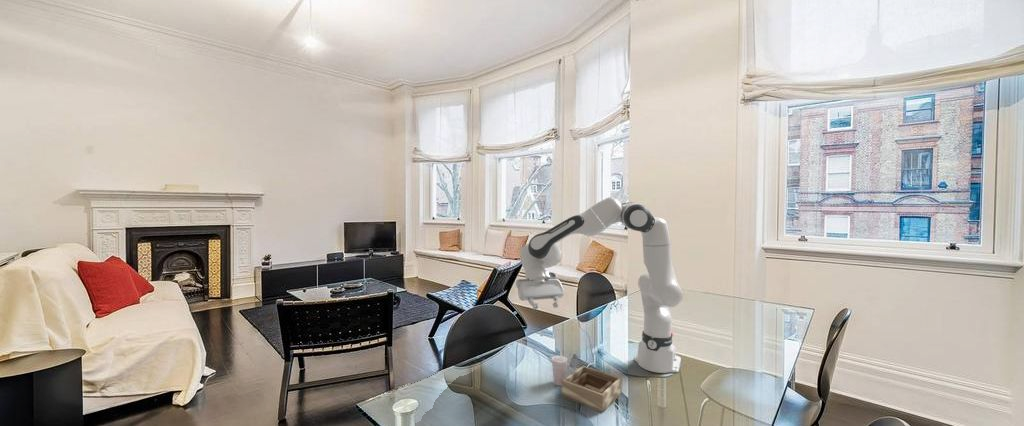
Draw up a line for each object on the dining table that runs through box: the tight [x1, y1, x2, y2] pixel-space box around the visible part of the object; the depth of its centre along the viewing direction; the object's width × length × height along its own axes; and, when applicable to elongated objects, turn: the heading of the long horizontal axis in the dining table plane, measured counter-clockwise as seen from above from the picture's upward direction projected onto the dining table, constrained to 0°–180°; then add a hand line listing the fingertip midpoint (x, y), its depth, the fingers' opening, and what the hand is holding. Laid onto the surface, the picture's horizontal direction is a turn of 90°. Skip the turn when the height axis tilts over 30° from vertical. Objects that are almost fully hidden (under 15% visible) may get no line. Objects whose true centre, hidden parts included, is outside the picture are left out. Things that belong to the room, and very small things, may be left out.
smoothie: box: [550, 347, 569, 387], centre depth 154 cm, size 6×6×14 cm
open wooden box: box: [561, 365, 623, 413], centre depth 146 cm, size 16×16×6 cm
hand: (546, 307), depth 164 cm, fingers open, 8 cm apart
